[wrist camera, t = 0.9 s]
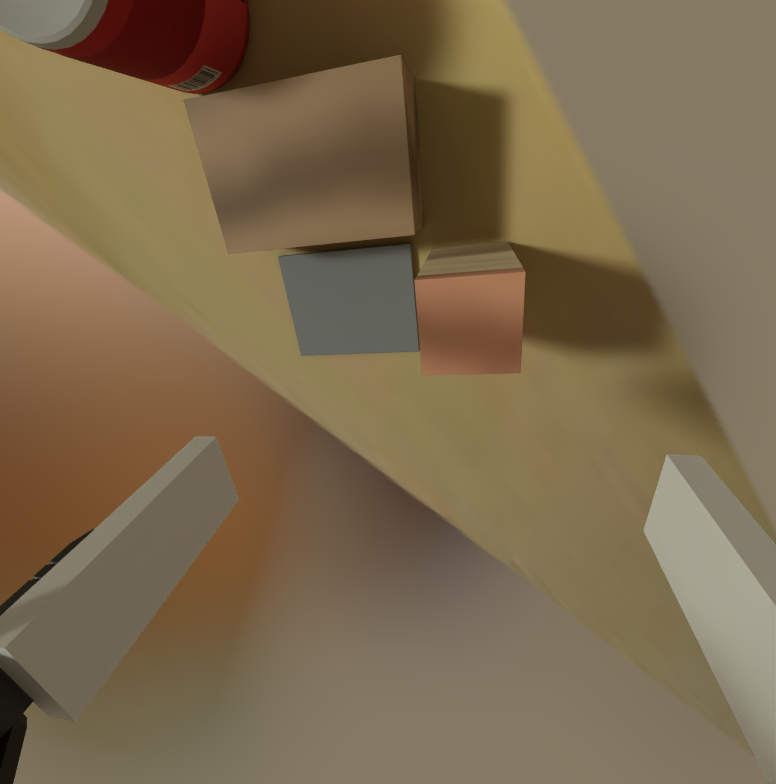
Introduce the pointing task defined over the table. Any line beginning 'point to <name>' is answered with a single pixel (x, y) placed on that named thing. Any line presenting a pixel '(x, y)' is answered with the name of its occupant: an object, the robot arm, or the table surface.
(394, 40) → the table surface
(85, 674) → the robot arm
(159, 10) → the canned food
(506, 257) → the block
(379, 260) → the mat
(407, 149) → the step
